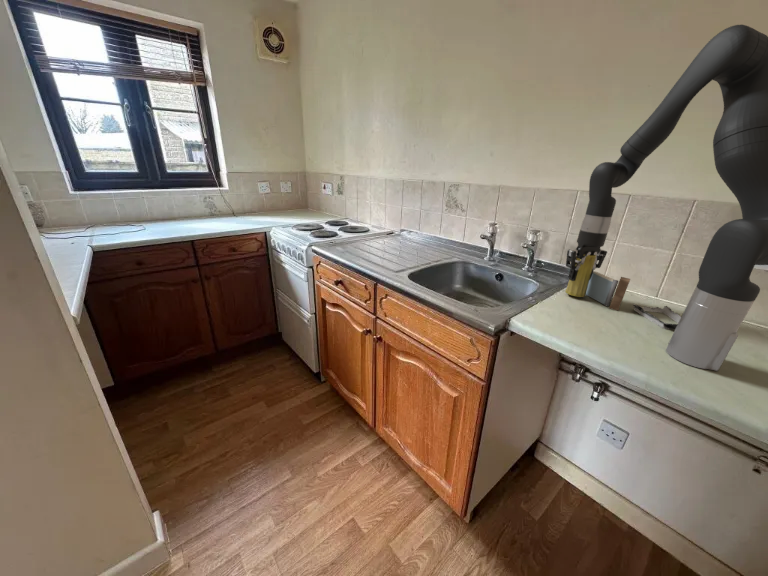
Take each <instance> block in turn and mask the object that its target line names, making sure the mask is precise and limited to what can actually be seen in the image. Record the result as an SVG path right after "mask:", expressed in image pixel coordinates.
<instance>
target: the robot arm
mask: <svg viewBox="0 0 768 576" xmlns="http://www.w3.org/2000/svg"><path fill="white" fill-rule="evenodd" d="M712 81H715V82H716V83H717V84H718V85H719V88H720V91H721V94H722V101H723V102H722V103H723V112H722V115H721V118H720V120H719V122H718V124H717V126H716V129H715V131H714V134H713V140H712V148H713V159H714V166H715V170H716V172H717V174H718V175H719V177H720V178H721V180H722V181H723V182H724V183H725V185H726V186H727V187H728V189H729V190H730V191H731V192H732V194H733V195H734V197H735V198H736V199H737V201H738V204H739V207H740V210H741V216H742V218H739V219H732V220H731V221H728V222H726V223H724V224H723V225H722V226H720V227H719V228H718V229H717V230H716V232H715V233H714V234H713V236H712V237H711V240H710V241H709V244H708V246H707V249H706V252H705V253H704V256H703V259H702V261H701V264H700V266H699V269H698V281H697V283H696V286H695V289H694V290H693V292H692V295H691V296H690V299H689V300H688V302H687V304H686V307H685V309H684V311H683V313H682V315H681V319H680V321H679V323H677V324H678V325H677V327H676V329H675V330H673V331H674V332H673V333H672V335H671V338H670V339H669V341H668V343H667V346H666V348H665V351H666V353H667V354H668V355H670V356H671V357H672V358H674V359H676V361H679V362H681V363H683V364H686V365H688V366H691V367H695V368H698V369H705V370H712V371H715V372H719V370H720V368H721V367H722V364H723V363H724V361H725V359H726V358H727V356H728V355H729V353H730V351H731V349H732V347H733V346H734V344H735V343H736V341H737V339H738V337H739V334H738V330H739V328H740V327H741V325H742V323H743V322H744V320H745V318H746V316H747V314H748V313H749V311H750V309H752V306H753V304H754V302H755V301H756V299H757V298H758V295H759V294H760V292H761V288H760V286H759V285H758V284H756V283H754V282H752V281H751V279H750V277H751V274H752V272H753V271H754V270H753V269H754V268H755V266H768V35H767V34H765V33H763V32H760V31H758V30H756V29H755V28H754V27H751V26H749V25H746V24H734V25H731V26H728V27H726V28H724V29H723V30H721V31H719V32H718V33H717V34H715V35H714V36H713V37H712V38H711V39H710V40H709V41H708V42H707V43H706V44H705V45H704V46H703V47H702V49H700V51H699V52H698V53H697V55H696V56H695V57H694V58H693V60H692V61H691V62H690V63H689V65H688V66H687V68H686V69H685V70H684V72H683V73H682V75H680V77H679V78H678V79H677V81H676V82H675V84H674V85H673V86H672V87H671V89H670V90H669V92H668V93H667V94H666V96H665V97H664V98H663V100H661V102H660V104H659V105H658V106H657V107H656V108H655V110H654V111H653V112H652V113H651V114H650V115H649V117H648V118H647V119H646V120H645V121H644V122H643V123H642V124H641V125H640V126H639V127H638V129H636V130H635V132H634V133H632V135H630V137H628V139H627V140H626V141H625V142H624V143H623V145H621V147H620V150H619V151H620V154H621V155H620V157H619V158H618V159H617V160H616V161H615V162H612V161H611V162H610V161H605V162H602V163H599V164H598V165H596V166H595V168H594V169H593V170H592V172H591V175H590V178H589V182H588V183H589V184H588V185H589V186H588V187H589V188H588V190H589V191H588V195H589V196H588V197H589V198H588V200H589V201H588V204H587V208H586V211H585V214H584V217H583V219H582V222H581V225H580V229H579V232H578V236H577V240H576V243H577V246H576V247H575V249H569V248H568V250H567V251H566V260H565V267H566V268H569V273H568V275H567V277H568V281H569V280H571V281H575V280H576V276H577V273H578V271H577V270H578V269H579V268H580V266H581V265H583V264H584V262H585V259H586V257H587V256H588V255H592V256H594V255H596V259H595V262H594V265H593V268H592V271H591V275H590V279H591V277H592V274H593V271H596V269H600V268H601V267H602V265H603V262H604V260H605V259H606V256H607V254H608V251H607V250H604V249H601V247H604V245H605V242H606V239H607V236H608V232H609V230H610V226H611V223H612V217H613V213H614V210H615V208H616V202H617V200H616V197H613V196H612V195H613V193H612V192H613V188H614V189H616V188H619V187H621V186H623V185H625V184H626V183H627V182H628V181H630V179H632V177H633V176H634V175H635V173H637V171H638V169H640V167H641V166H642V164H643V162H644V161H645V160H646V159H647V158H648V157H649V156H651V154H653V152H654V151H656V149H658V148H659V147H661V145H662V144H663V143H664V142H665V141H666V140H667V139H668V138H669V136H671V134H672V133H673V131H674V129H675V128H676V127H677V125H678V123H679V120H680V119H681V117H682V116H683V114H684V112H685V110H686V108H687V107H688V106H689V105H690V103H691V101H692V100H693V99H694V98H695V97H696V96H697V94H698V93H699V92H700V91H702V90H703V89H704V88H705V87H706V86H707V85H708V84H709V83H711V82H712ZM577 258H579V259H581V261H578V260H576V259H577ZM576 263H577V265H576ZM575 265H576V266H575ZM590 279H589V280H590Z"/></svg>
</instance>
